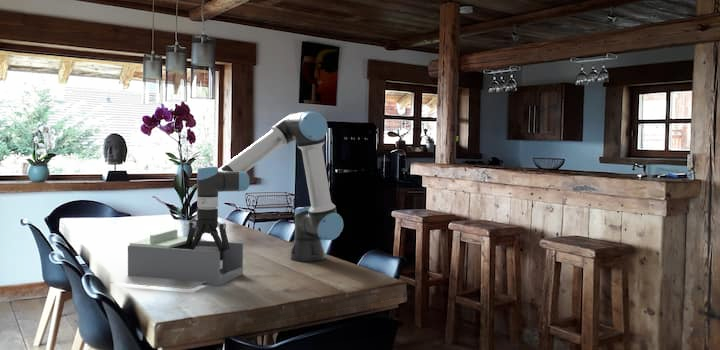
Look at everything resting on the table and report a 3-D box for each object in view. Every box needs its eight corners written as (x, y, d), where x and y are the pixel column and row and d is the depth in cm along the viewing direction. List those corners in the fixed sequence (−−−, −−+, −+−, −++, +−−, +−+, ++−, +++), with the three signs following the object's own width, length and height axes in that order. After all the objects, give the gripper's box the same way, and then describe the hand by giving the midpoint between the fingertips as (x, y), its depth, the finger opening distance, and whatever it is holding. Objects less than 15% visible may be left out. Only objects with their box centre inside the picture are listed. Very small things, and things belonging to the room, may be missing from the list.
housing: (242, 274, 227) (243, 243, 226) (218, 285, 208) (218, 251, 207) (158, 267, 235) (158, 237, 235) (127, 278, 216) (127, 245, 216)
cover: (196, 240, 231) (196, 230, 231) (168, 248, 212) (168, 237, 212) (160, 237, 235) (160, 227, 234) (129, 245, 216) (129, 235, 215)
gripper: (175, 207, 217) (175, 267, 218) (230, 210, 212) (230, 272, 213) (186, 205, 224) (185, 263, 226) (239, 208, 219) (239, 267, 220)
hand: (207, 267), depth 219 cm, fingers closed on electrical switch, 9 cm apart
